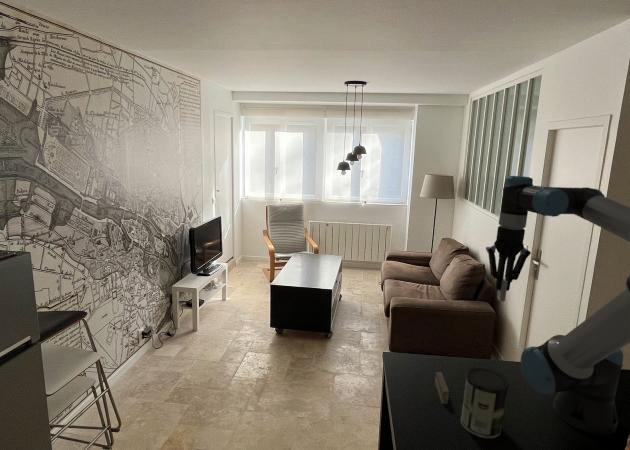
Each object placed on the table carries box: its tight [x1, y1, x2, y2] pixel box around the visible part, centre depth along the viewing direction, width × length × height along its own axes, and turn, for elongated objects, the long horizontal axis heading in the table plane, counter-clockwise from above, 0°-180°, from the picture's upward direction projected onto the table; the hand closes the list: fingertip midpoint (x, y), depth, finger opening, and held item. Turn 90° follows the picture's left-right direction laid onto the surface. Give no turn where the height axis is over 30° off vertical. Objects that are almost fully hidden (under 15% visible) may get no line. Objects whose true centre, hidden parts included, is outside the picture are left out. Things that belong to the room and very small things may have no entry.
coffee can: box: [460, 367, 510, 439], centre depth 107 cm, size 10×10×14 cm
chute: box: [434, 371, 450, 405], centre depth 121 cm, size 15×10×4 cm
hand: (500, 299), depth 128 cm, fingers closed
